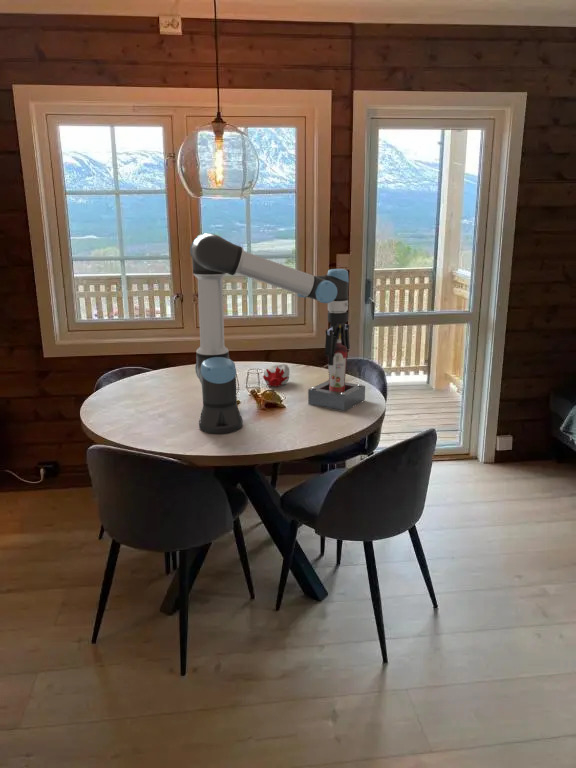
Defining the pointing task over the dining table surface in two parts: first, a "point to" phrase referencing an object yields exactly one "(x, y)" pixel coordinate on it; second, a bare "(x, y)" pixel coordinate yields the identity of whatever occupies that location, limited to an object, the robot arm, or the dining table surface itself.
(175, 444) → the dining table surface
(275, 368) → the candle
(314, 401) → the housing
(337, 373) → the liquor
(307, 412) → the dining table surface
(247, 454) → the dining table surface
